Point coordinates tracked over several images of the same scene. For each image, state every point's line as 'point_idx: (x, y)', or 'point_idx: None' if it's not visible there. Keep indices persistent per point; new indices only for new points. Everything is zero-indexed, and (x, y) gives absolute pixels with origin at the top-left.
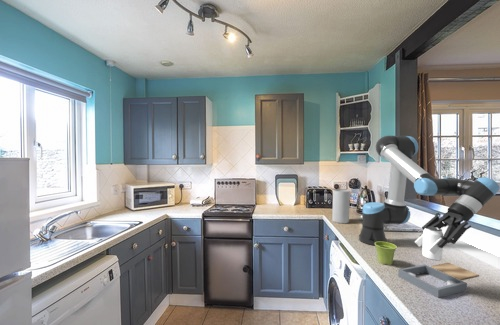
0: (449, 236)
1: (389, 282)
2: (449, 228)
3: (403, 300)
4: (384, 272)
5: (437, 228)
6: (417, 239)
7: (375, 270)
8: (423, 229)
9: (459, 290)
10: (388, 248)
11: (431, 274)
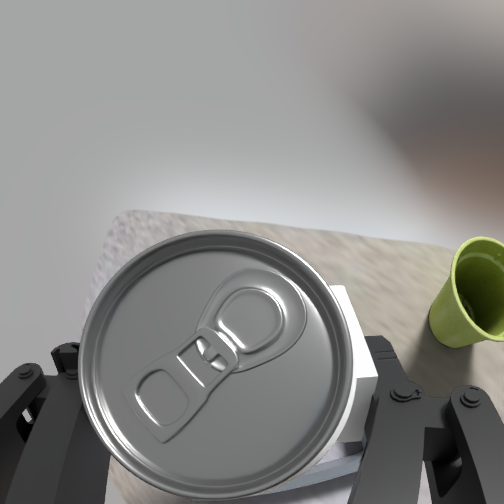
0: (25, 389)
1: (283, 237)
2: (20, 498)
3: (182, 218)
4: (360, 263)
5: (232, 488)
6: (343, 299)
7: (373, 239)
8: (449, 400)
9: None
10: (453, 271)
11: (335, 460)
